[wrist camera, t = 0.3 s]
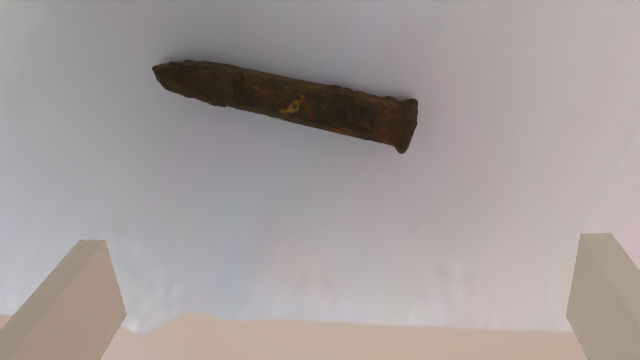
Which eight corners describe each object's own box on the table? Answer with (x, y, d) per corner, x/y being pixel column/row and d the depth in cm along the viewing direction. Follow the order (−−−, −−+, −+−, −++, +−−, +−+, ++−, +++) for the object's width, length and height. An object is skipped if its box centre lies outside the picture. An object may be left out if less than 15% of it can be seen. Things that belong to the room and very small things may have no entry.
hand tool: (416, 97, 40) (428, 105, 35) (400, 147, 41) (409, 162, 36) (169, 28, 39) (148, 28, 34) (159, 82, 40) (138, 88, 35)
